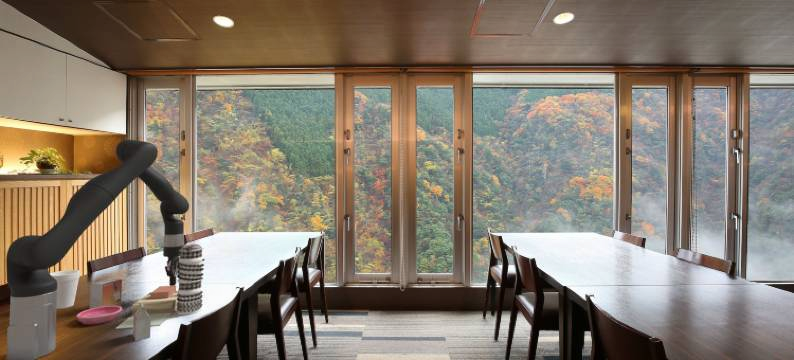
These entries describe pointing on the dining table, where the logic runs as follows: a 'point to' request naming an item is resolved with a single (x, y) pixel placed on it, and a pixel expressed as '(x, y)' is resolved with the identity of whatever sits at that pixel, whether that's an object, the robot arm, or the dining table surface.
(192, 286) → the decorative candle
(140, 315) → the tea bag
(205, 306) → the dining table surface
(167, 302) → the panel
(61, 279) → the foam cup
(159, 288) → the salmon pink brick
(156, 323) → the mat
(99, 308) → the saucer
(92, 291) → the small box
